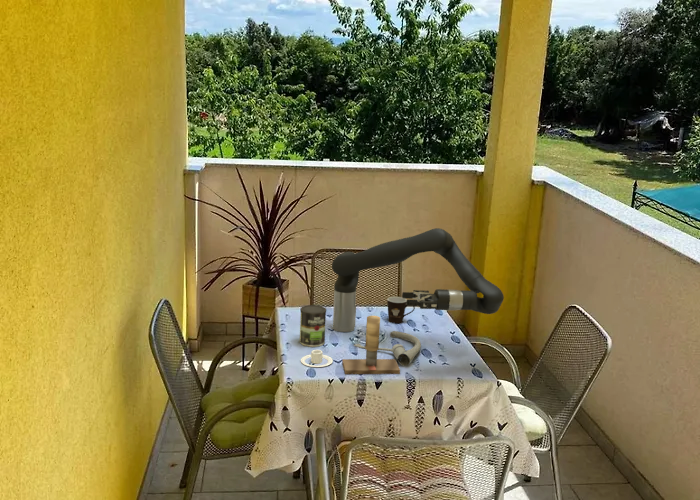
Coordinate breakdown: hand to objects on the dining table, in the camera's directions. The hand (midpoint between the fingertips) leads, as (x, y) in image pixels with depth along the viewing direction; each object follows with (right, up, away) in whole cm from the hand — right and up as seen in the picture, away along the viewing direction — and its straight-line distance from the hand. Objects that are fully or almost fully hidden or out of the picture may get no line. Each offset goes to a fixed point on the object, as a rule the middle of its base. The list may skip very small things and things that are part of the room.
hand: (404, 298), depth 241 cm
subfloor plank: (-12, -26, +5) cm, 29 cm away
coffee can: (-35, -20, +28) cm, 49 cm away
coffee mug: (+2, -14, +56) cm, 58 cm away
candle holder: (-32, -25, +9) cm, 41 cm away
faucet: (-4, -22, +26) cm, 34 cm away
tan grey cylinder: (-12, -24, +5) cm, 27 cm away
